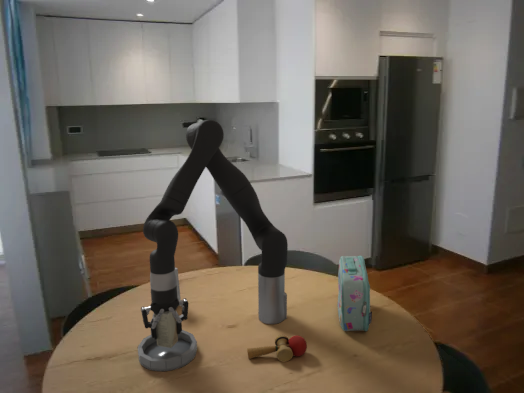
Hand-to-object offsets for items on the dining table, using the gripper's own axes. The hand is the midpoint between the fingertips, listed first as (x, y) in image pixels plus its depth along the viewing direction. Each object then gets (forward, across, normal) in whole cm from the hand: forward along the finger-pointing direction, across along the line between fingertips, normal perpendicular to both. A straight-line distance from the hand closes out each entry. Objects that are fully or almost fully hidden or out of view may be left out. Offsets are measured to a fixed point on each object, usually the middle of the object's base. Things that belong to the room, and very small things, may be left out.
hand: (166, 335), depth 125 cm
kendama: (+7, -30, +15) cm, 34 cm away
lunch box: (+6, -64, +6) cm, 65 cm away
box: (+3, 0, 0) cm, 3 cm away
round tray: (+6, 0, 0) cm, 6 cm away
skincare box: (+6, -7, -32) cm, 33 cm away
